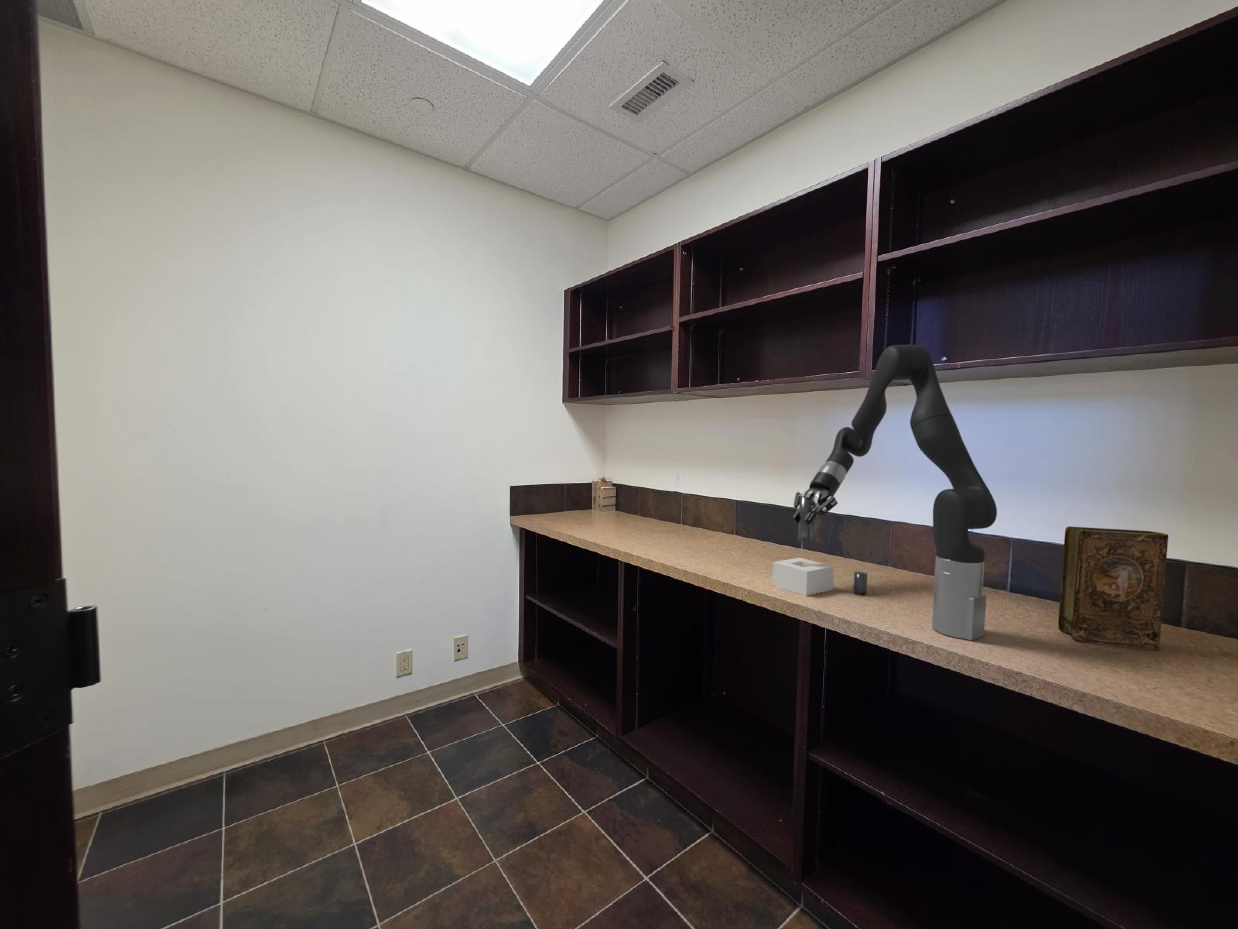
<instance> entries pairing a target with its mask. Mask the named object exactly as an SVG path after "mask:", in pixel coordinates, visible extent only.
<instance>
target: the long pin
mask: <svg viewBox="0 0 1238 929" xmlns="http://www.w3.org/2000/svg"><path fill="white" fill-rule="evenodd" d="M811 509H812V497H806V496H801V497H800V509H799V522H798V538H797V540H798V541H799V542H802V543H803V542H804V543H810V542H811V539H812V536H811V535H812V523H811V524H810V525H806V523H805V522H804V519H805V517H806V516H807V514H808V513H809V511H812V510H811Z"/></svg>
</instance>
